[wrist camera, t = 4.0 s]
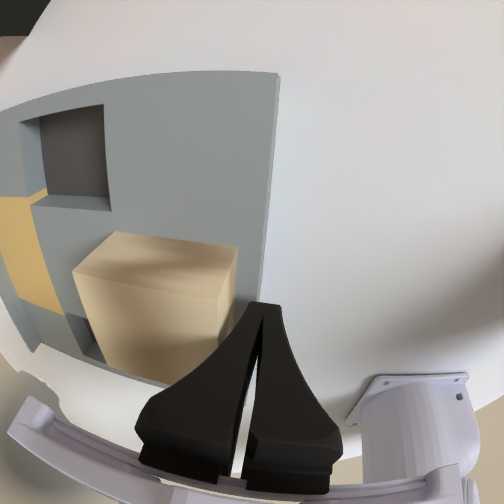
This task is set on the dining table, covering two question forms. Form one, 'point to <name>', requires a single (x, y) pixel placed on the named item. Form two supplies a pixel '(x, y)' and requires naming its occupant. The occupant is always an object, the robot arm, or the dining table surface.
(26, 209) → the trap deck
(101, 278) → the birch block
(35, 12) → the cleaning product box
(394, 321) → the dining table surface
